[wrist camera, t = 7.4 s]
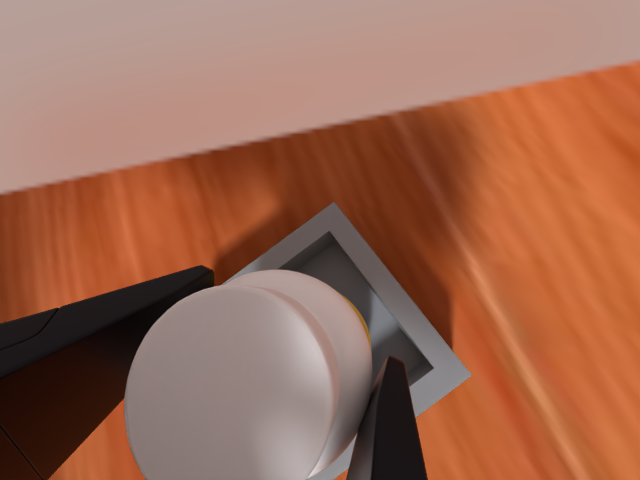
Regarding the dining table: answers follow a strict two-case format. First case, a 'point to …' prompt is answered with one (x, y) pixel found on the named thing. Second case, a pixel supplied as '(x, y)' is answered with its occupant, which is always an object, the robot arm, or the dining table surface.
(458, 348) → the dining table surface
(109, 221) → the dining table surface
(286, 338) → the supplement bottle
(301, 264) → the can holder
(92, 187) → the dining table surface
